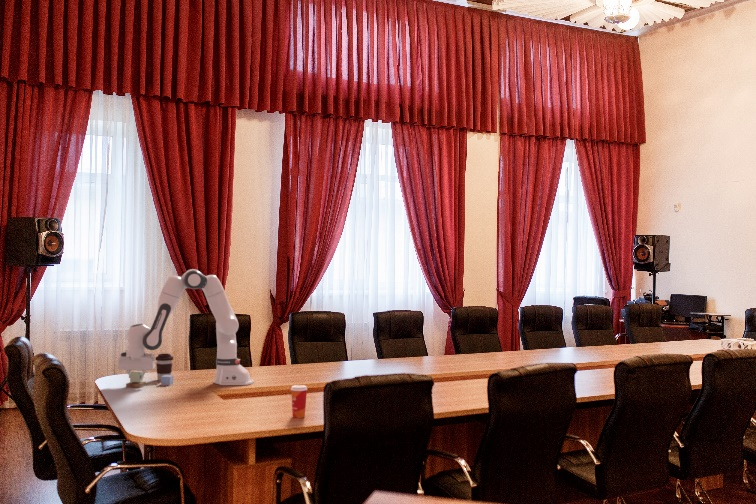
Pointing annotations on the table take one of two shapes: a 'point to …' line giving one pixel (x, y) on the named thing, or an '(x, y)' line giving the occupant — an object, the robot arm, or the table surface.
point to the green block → (135, 376)
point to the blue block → (167, 380)
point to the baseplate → (135, 384)
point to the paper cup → (298, 400)
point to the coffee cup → (164, 365)
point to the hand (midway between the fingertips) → (136, 378)
